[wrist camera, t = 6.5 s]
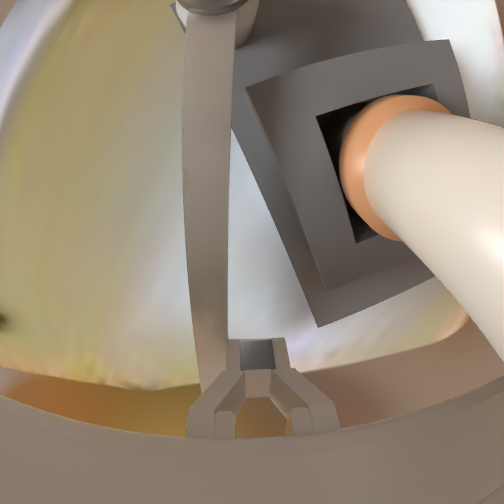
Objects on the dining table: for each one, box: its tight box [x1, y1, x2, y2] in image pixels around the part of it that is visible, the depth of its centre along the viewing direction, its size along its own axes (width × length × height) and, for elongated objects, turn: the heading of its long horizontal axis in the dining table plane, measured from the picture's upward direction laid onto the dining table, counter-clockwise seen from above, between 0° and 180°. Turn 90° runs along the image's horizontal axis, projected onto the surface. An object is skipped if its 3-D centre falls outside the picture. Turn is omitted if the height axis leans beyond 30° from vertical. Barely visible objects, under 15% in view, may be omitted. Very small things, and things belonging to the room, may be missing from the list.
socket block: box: [170, 0, 470, 328], centre depth 10 cm, size 18×10×4 cm, turn 23°
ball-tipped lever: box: [177, 0, 248, 393], centre depth 9 cm, size 18×2×2 cm, turn 177°
